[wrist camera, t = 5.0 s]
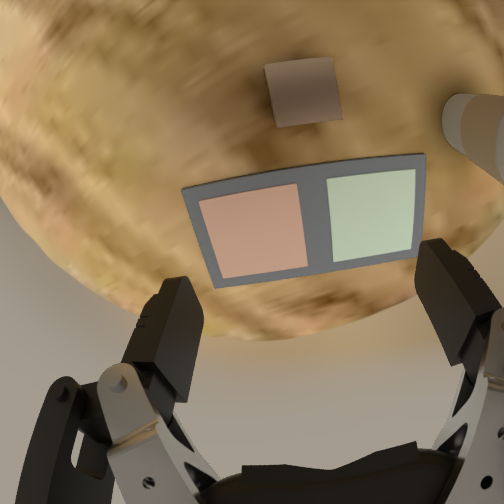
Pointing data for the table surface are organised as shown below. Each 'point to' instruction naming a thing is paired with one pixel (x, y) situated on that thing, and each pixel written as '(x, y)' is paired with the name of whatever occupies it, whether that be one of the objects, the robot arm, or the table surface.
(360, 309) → the table surface
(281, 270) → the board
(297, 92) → the walnut block
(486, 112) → the coffee cup
